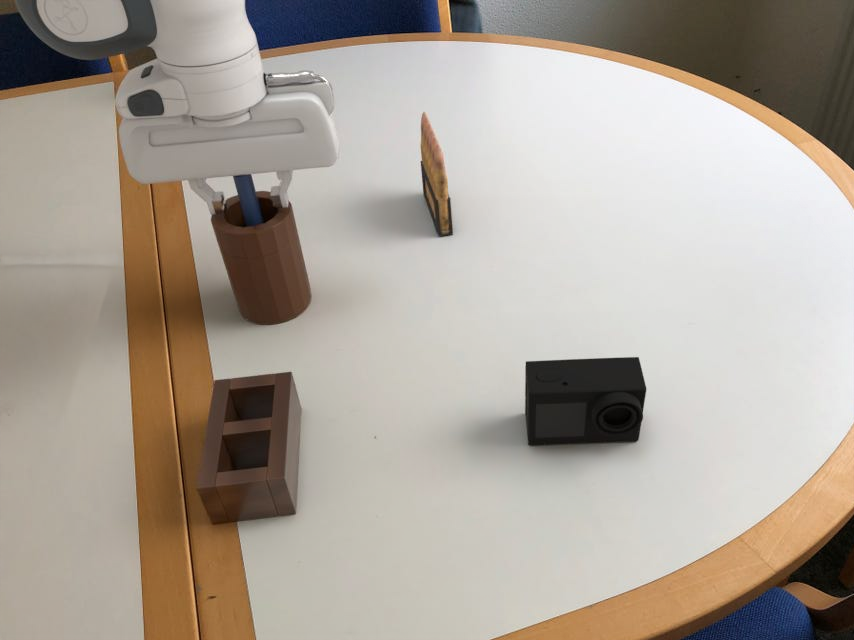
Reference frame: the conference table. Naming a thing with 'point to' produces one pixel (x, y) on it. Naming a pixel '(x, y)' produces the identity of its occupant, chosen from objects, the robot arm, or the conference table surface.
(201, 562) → the conference table surface
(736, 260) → the conference table surface
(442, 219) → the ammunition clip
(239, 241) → the cup
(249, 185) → the brush
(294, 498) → the rack
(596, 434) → the digital camera
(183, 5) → the robot arm
